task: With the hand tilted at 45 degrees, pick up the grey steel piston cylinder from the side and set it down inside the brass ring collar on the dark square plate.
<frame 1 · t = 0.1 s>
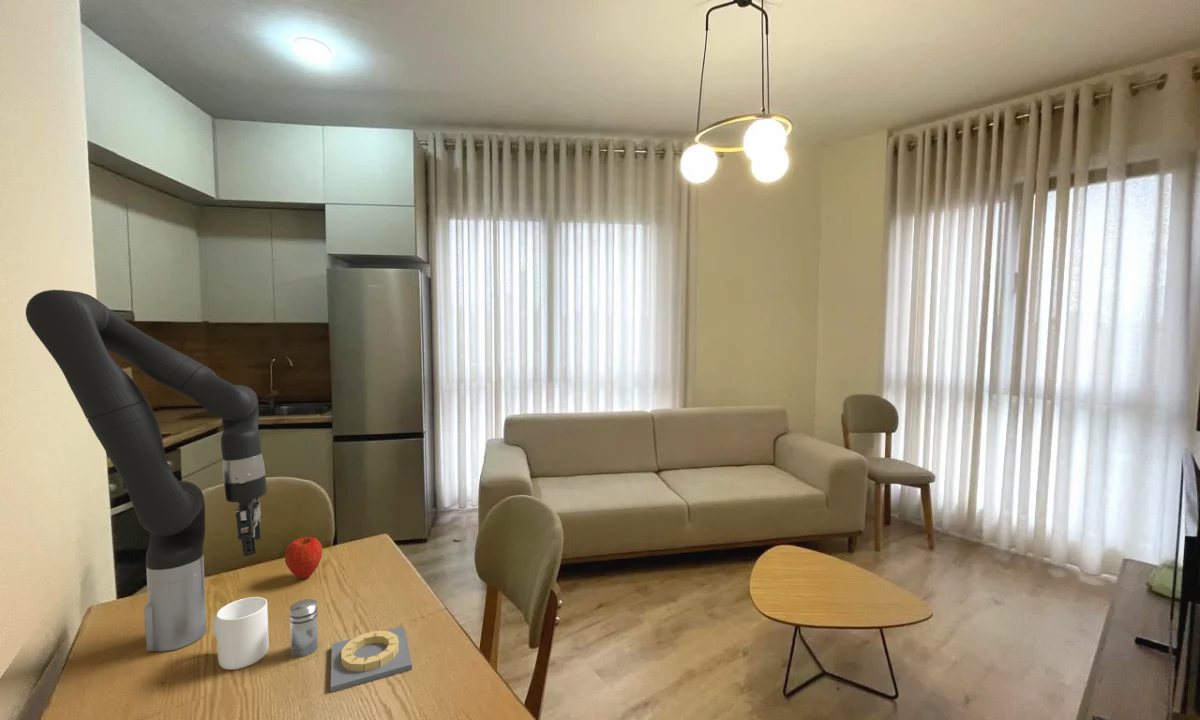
hand: (252, 546, 112), 17 cm above the table, tool pointing down, fingers open, 8 cm apart
mug: (237, 656, 102), on the table
apple: (304, 578, 133), on the table
ring block: (370, 658, 101), on the table
piston: (304, 649, 103), on the table
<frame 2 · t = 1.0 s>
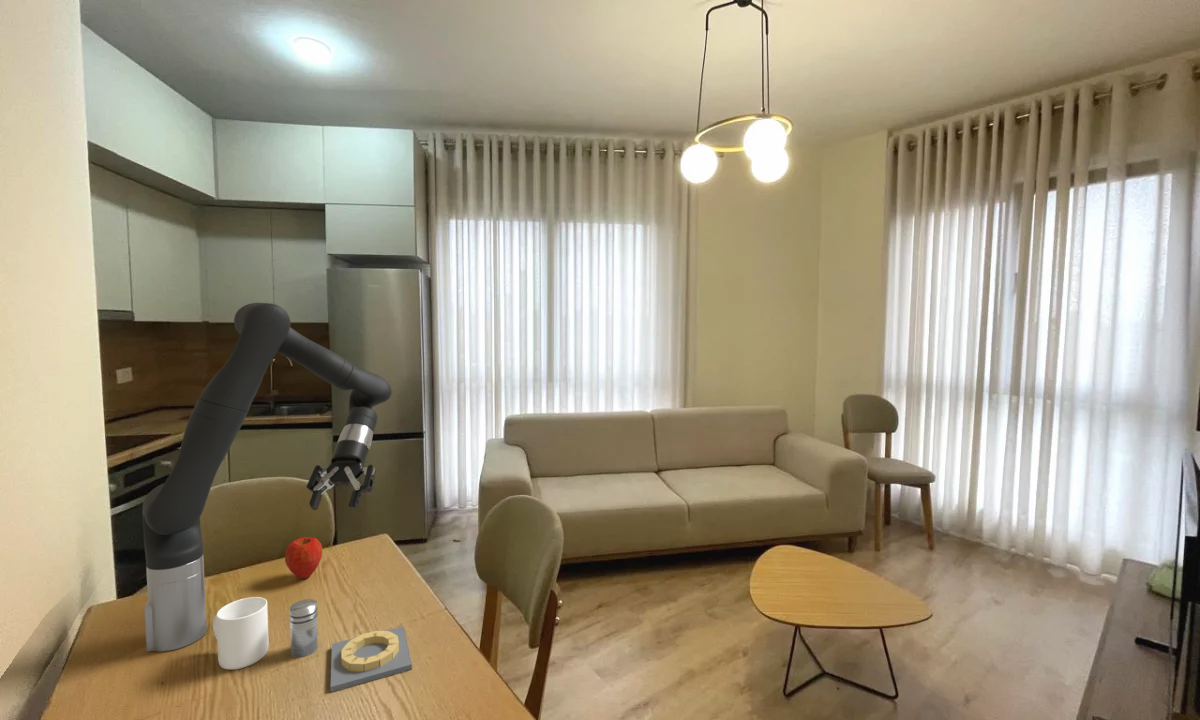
hand: (332, 508, 115), 25 cm above the table, tool tilted 45°, fingers open, 8 cm apart
nothing on the table moved.
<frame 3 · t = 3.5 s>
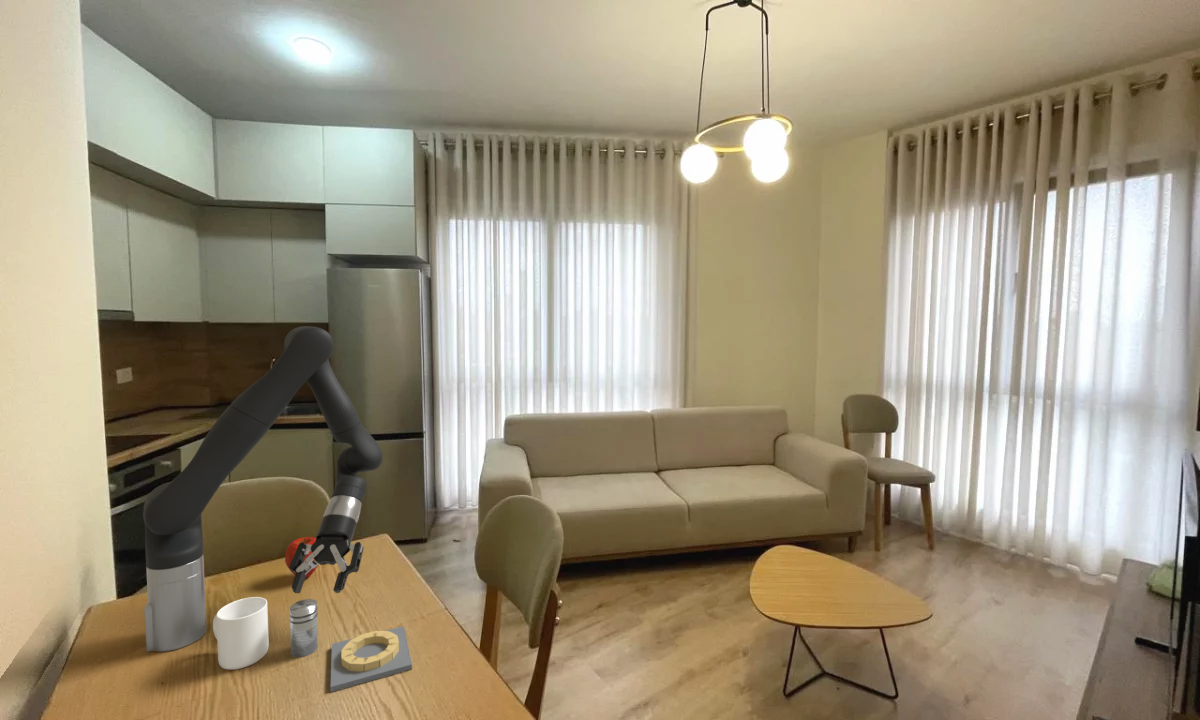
hand: (316, 592, 108), 10 cm above the table, tool tilted 45°, fingers open, 8 cm apart
nothing on the table moved.
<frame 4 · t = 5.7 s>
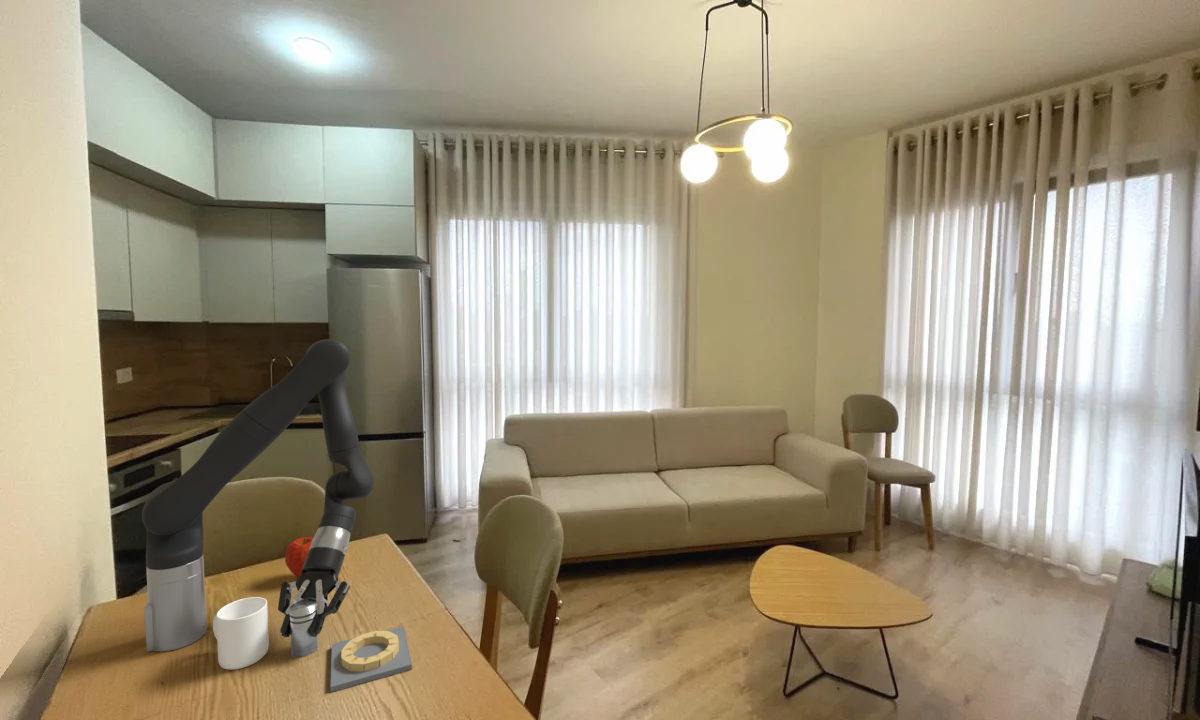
hand: (299, 635, 101), 4 cm above the table, tool tilted 45°, fingers closed on piston, 5 cm apart
piston: (304, 649, 103), on the table, touching gripper
everything else where it was.
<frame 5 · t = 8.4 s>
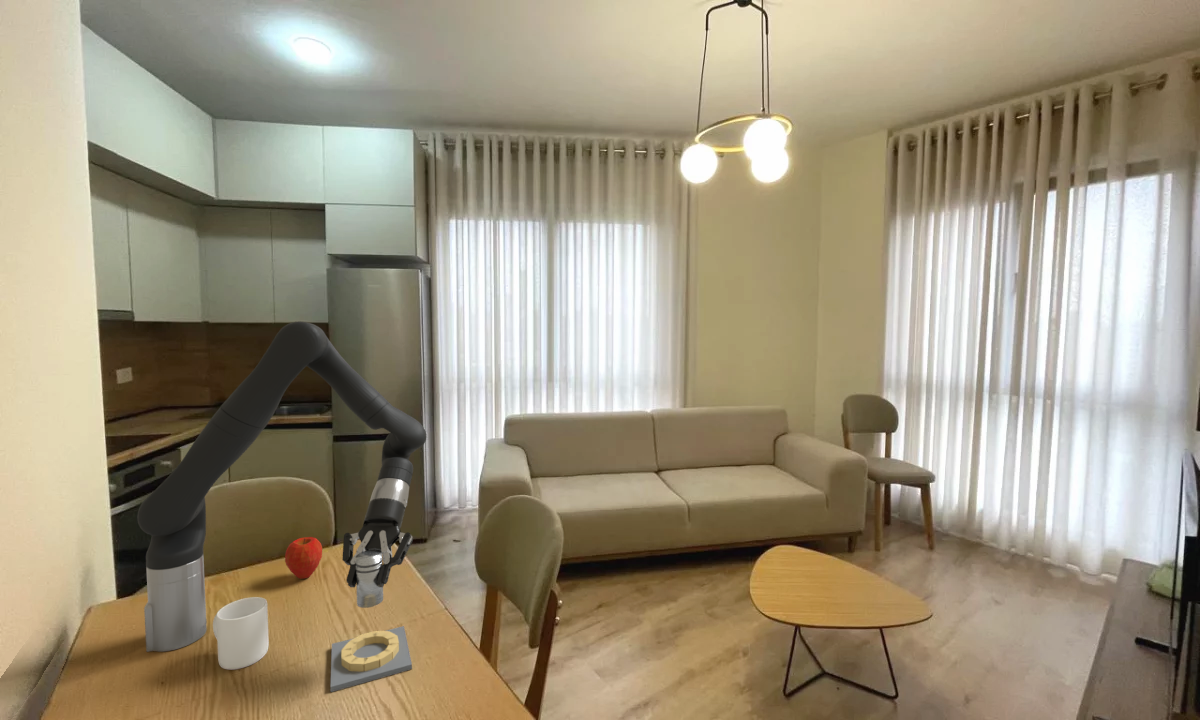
hand: (365, 585, 98), 16 cm above the table, tool tilted 45°, fingers closed on piston, 5 cm apart
piston: (370, 601, 100), point 12 cm above the table, touching gripper
everything else where it was.
when the fingers open (6 cm above the table, at t = 11.1 s): piston stays where it is, resting on ring block.
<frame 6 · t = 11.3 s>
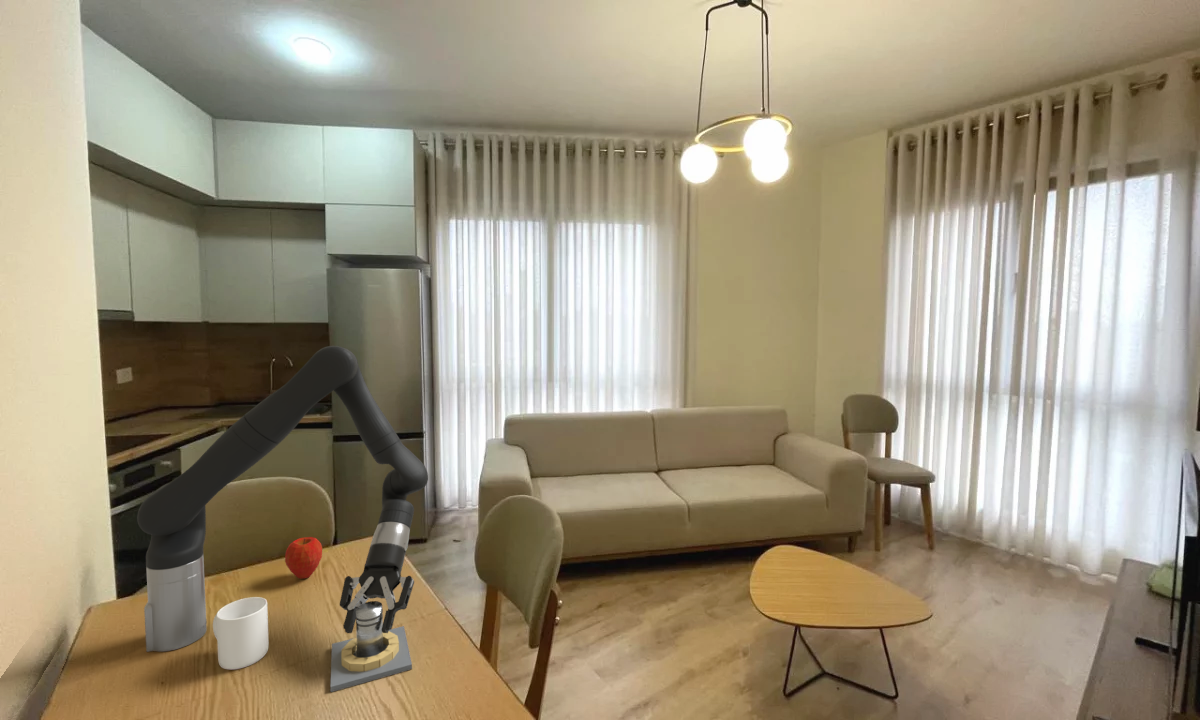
hand: (366, 632, 99), 7 cm above the table, tool tilted 45°, fingers open, 6 cm apart
piston: (370, 653, 101), point 1 cm above the table, touching ring block
everything else where it was.
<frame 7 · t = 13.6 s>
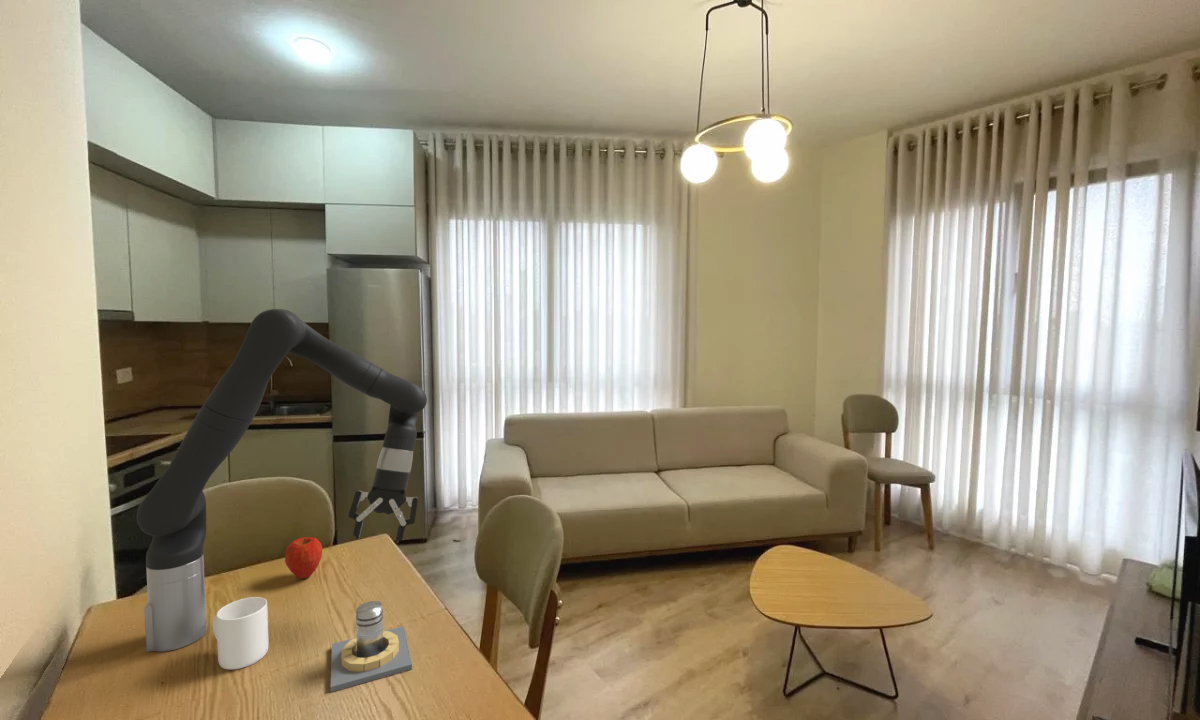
hand: (377, 540, 115), 18 cm above the table, tool tilted 20°, fingers open, 8 cm apart
nothing on the table moved.
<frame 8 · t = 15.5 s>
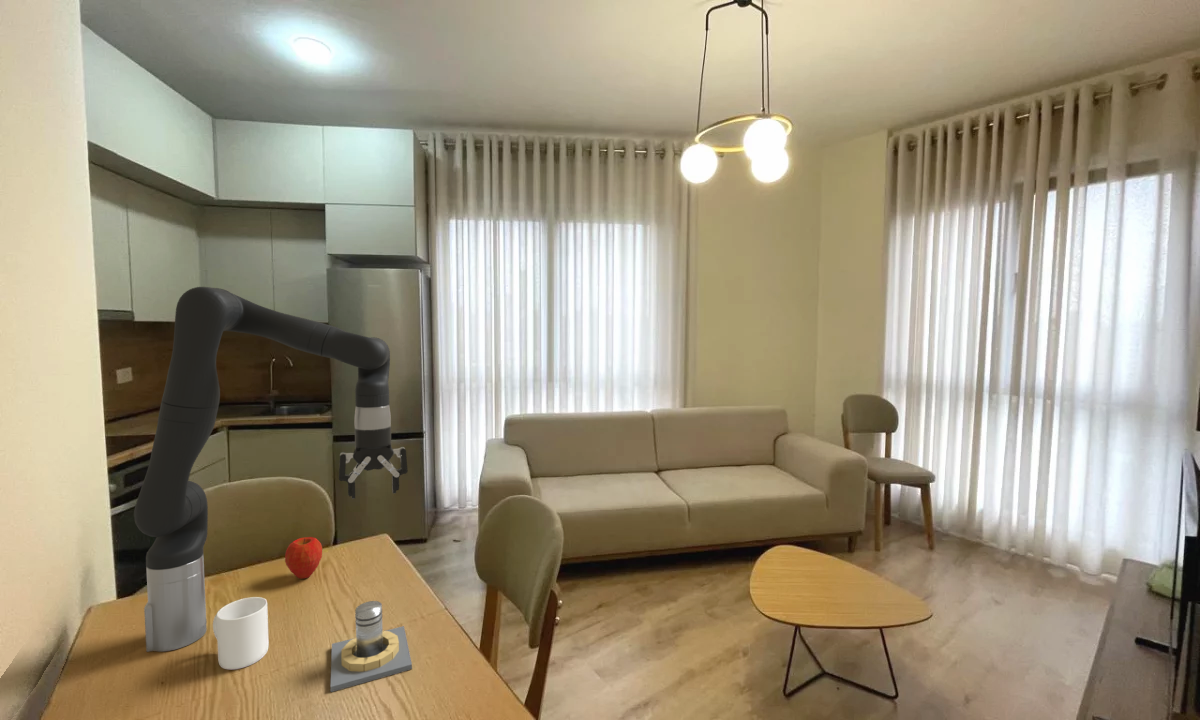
hand: (374, 494, 115), 28 cm above the table, tool pointing down, fingers open, 8 cm apart
nothing on the table moved.
at the end: piston 0.3 cm from the ring block (horizontally); piston point 1.0 cm above the table; piston tilted 1° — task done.
